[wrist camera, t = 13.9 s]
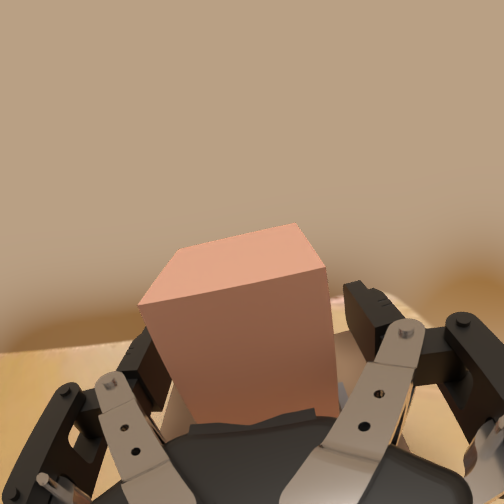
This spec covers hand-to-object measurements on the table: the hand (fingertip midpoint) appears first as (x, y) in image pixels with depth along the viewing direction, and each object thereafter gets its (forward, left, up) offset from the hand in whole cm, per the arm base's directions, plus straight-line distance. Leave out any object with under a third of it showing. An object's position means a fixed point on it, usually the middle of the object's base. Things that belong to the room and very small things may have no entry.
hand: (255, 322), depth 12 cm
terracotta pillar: (0, -2, -8) cm, 8 cm away
